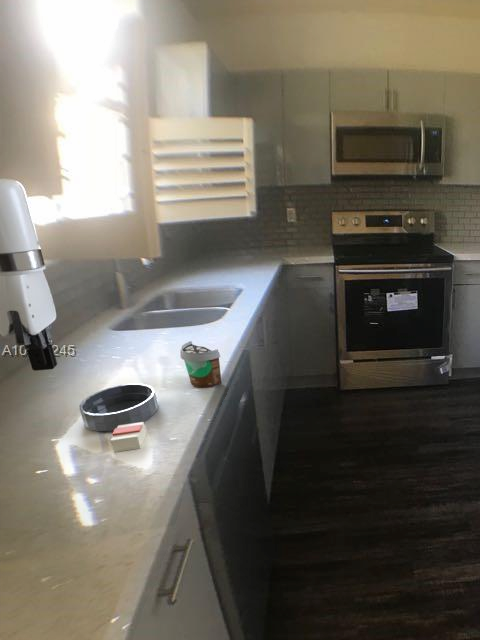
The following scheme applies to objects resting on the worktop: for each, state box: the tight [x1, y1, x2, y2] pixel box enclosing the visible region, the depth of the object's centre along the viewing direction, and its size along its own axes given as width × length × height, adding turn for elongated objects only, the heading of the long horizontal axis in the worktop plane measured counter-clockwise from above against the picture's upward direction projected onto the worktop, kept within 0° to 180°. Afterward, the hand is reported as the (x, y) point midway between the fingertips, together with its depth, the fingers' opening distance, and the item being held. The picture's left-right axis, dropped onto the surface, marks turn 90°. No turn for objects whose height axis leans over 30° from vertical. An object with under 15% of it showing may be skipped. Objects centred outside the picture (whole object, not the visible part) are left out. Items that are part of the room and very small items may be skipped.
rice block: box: [109, 421, 147, 453], centre depth 95 cm, size 5×6×3 cm
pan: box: [79, 383, 159, 432], centre depth 105 cm, size 15×15×4 cm
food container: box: [179, 340, 223, 389], centre depth 118 cm, size 12×6×10 cm, turn 55°
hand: (45, 367), depth 79 cm, fingers closed
